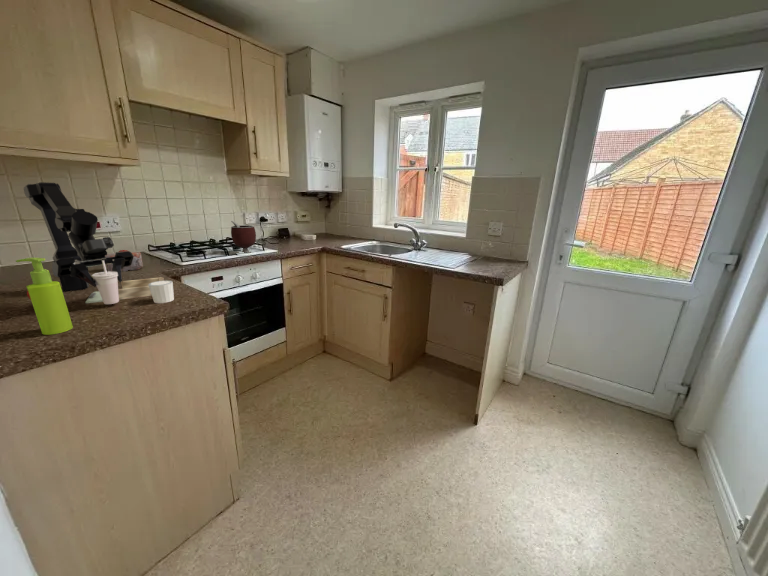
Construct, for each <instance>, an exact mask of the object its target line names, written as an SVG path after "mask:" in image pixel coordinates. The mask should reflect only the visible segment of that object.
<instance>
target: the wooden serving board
mask: <svg viewBox="0 0 768 576" xmlns="http://www.w3.org/2000/svg"><path fill="white" fill-rule="evenodd" d="M156 281H165V280H164V276H160V277H151V278H142V279H133V280H123V281H122V282H120V284H121V287H122V288H118V294H119V301H120V300H125V299H135V298H144V297H150V296H151V297H152V294H151V291H150V288H149V285H148V284H150V283H152V282H156Z"/></svg>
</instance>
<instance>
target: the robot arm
mask: <svg viewBox="0 0 768 576" xmlns="http://www.w3.org/2000/svg"><path fill="white" fill-rule="evenodd" d="M23 193H24V195H25V197H26V198H28V200H29V203H31V205H32V206H34V207H35V208H36V209H38V210H39V212H40V213H41V215H42V217H43V221H44V223H45V225H46V228H47V230H48V233H49V236H50V238H51V241H52V243H53V246H54V249H55V251H54V254H53V256H52V261H51V263H52V266H51V272H52V274H53V276H54V277H57V278H58V279H59V281H60V285H61V289H62V292H63V293H67V292H74V291H75V292H76V291H85V290H86V289H88V288H89V287H90V285H91V286H92V287H94V288H97V286H96V283H95V281H94V279H93V278H92V276H91V275H92V274H91V273H90V272H89V268H91V267H97V266H103V264H102V260H104V262H105V266H107V264H112V266H113V268H112V270H113V271H114V272H118V276H117V279H118V282H119V283H121V282H122V280H123V278H122V271H121V269H123V267H127V266H130V265H131V264H132V260H133V257H134V256H133V254H132V253H133V252H131V251H129V250H128V251H123V252H119V251H116V252H115V253H116V254H115V257H110V258H106V257H105V255H107V254H108V251H107V250H108V249H111V248H113V247H114V246H115V245H114V241H113V239H112V238H111V237H110V236H105V237H102V238H98V239H97V238H96V237H95V236H94V235H96V232H97V227H98V217H97V215H95V214H94V213H91V212H90V211H86V210H85V209H84V208H75V207H73V205H72V204H71V203H70V201H69V199H67V197H66V196H65V194H64V193H63V191H62V189H61V186H60V184H59V183H56V182H49V181H48V182H45V181H43V182H42V181H40V182H36V183H28V184H26V185H25V186H23Z"/></svg>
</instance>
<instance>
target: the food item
mask: <svg viewBox="0 0 768 576" xmlns="http://www.w3.org/2000/svg"><path fill="white" fill-rule="evenodd" d="M123 251H129V249H127V250H126V249H122V250H121V249H120V250H119V251H118V252H123ZM131 253H132V254H133V256H134V257H133V260H132V264H131V265H130V266H127V267H123V269H121V272H129V271H128V270H130V271H138V269H139V270H141V269H143V267H144V263H143V258H142V253H141V252H140V251H138V252H135V251H134V252H133V251H132V252H131ZM115 254H116V252H112V253H107V255H105V257H106V258H110V257H115ZM112 268H113V266H112V264H106V269H107V272H109V271H113V270H112Z"/></svg>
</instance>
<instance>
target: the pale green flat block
mask: <svg viewBox="0 0 768 576" xmlns="http://www.w3.org/2000/svg"><path fill="white" fill-rule="evenodd" d="M100 302H101V303H102V302H103V300H102V297H101V295H100V293H99V290H98V291H93V292H91V294H89V296H88V298H87V299H86V301H85V304H92V303H93V304H95V303H100Z"/></svg>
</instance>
